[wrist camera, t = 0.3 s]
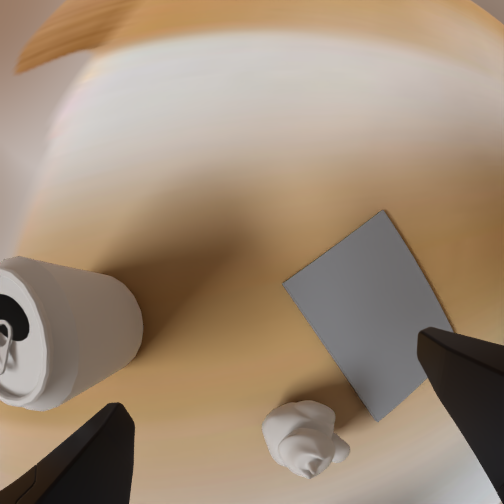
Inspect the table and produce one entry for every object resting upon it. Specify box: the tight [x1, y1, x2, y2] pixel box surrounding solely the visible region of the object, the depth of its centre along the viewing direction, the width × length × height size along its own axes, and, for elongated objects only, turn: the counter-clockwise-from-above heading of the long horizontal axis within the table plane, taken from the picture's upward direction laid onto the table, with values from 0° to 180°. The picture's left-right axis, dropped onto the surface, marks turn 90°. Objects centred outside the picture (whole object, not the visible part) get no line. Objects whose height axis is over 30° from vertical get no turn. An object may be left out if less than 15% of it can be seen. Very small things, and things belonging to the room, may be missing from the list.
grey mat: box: [282, 210, 454, 422], centre depth 21 cm, size 14×10×1 cm
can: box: [0, 256, 144, 411], centre depth 15 cm, size 8×8×12 cm
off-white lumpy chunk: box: [262, 400, 350, 479], centre depth 16 cm, size 5×7×8 cm
